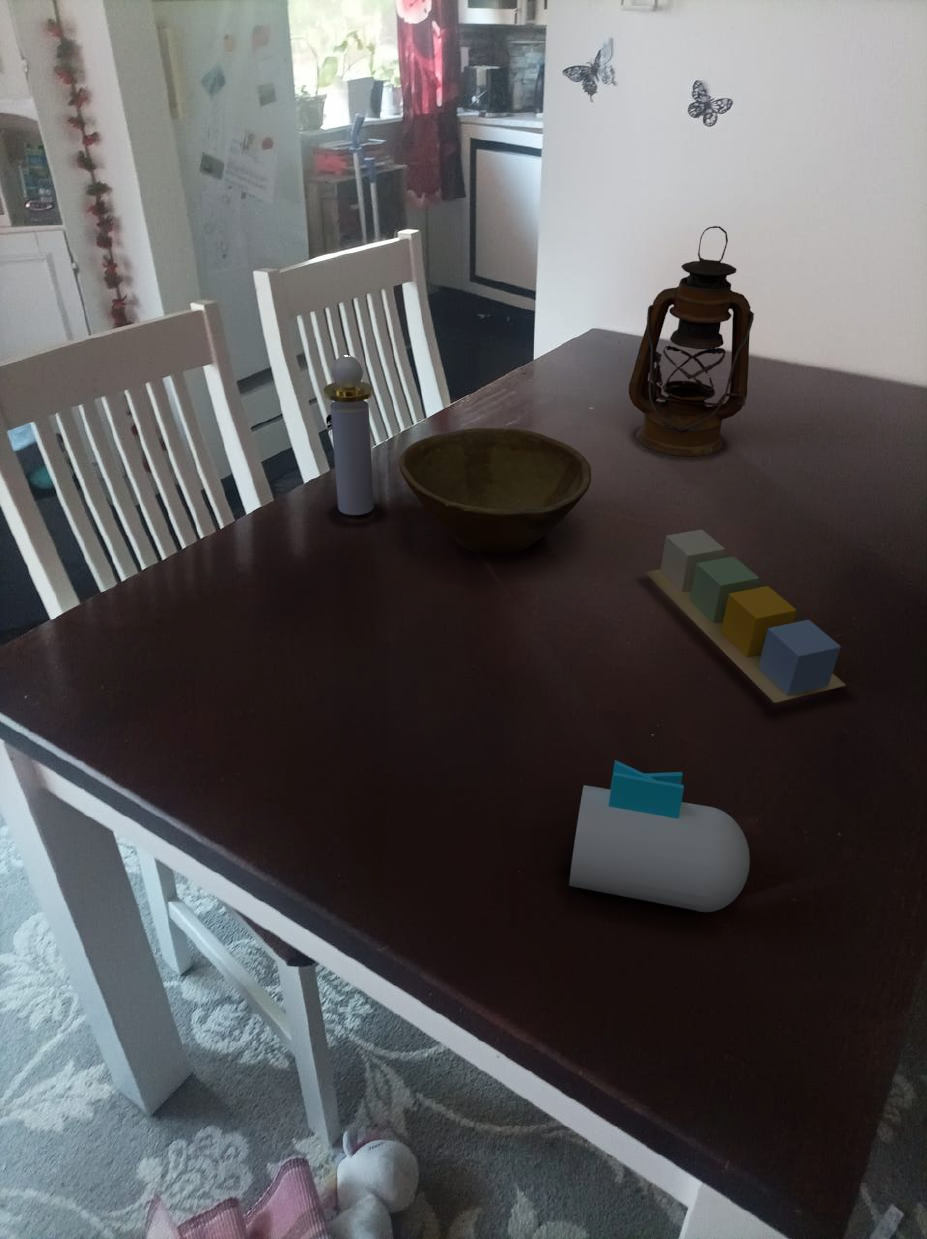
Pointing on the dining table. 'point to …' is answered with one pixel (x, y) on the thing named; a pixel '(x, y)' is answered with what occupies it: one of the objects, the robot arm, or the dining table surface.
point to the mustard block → (754, 617)
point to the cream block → (687, 556)
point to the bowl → (495, 485)
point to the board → (730, 643)
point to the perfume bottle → (351, 436)
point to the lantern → (700, 311)
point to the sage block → (719, 585)
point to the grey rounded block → (657, 844)
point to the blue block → (798, 657)
